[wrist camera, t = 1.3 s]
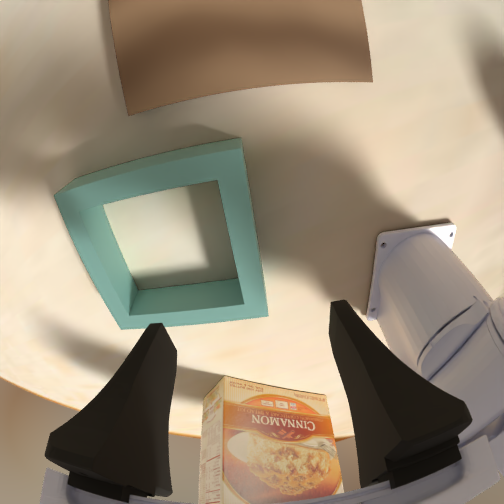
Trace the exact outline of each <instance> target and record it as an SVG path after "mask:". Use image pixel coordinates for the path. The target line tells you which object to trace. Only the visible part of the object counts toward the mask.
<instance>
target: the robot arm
mask: <svg viewBox="0 0 504 504" xmlns="http://www.w3.org/2000/svg"><path fill="white" fill-rule="evenodd" d="M455 232H456V225H455V224H454V223H445V224H437V225H430V226H423V227H416V228H409V229H402V230H395V231H388V232H382V233H380V234H379V235H378V237H377V243H376V252H375V261H374V268H373V276H372V283H371V289H370V296H369V302H368V308H367V313H366V318H367V319H368V320H375V319H377V321H378V323H379V325H380V327H381V329H382V332H383V334H384V336H385V339H386V341H387V343H388V346H389V348H390V350H391V351H390V350H389V349H388V348H387V347H386V346H385V345H384V344H383V343H382V342H381V341H380V340H379V339H378V338H377V337H376V336H375V334H374V333H373V332H372V331H371V330H370V329H369V328H368V327H367V326H366V324H365V323H364V322H363V321H362V320H361V318H360V317H359V316H358V315H357V314H356V312H355V311H354V310H353V308H352V307H351V306H350V305H349V303H348V302H347V301H346V300H340V301H334V302H331V307H330V323H329V337H330V342H331V347H332V351H333V355H334V358H335V361H336V364H337V367H338V370H339V373H340V376H341V379H342V382H343V385H344V389H345V392H346V395H347V398H348V402H349V406H350V411H351V416H352V422H353V428H354V434H355V440H356V448H357V456H358V465H359V476H360V477H359V478H360V485H361V489H357V490H353V491H349V492H344V493H340V494H335V495H330V496H325V497H320V498H314V499H307V500H300V501H292V502H283V503H272V504H360V503H361V504H465V503H466V502H468V501H469V500H471V499H473V498H474V497H476V496H477V495H479V494H481V493H482V492H483V491H485V490H487V489H488V488H489V487H491V486H493V485H494V484H495V483H497V482H498V481H499V480H500V476H499V472H498V470H499V471H500V473H501V474H502V475H503V476H504V298H503V297H498V298H496V299H495V300H494V301H493V299H492V298H491V297H490V295H489V294H488V293H487V292H486V290H485V289H484V288H483V286H482V285H481V284H480V283H479V281H478V280H477V279H476V278H475V277H474V275H473V274H472V273H471V272H470V271H469V269H468V268H467V267H466V266H465V265H464V264H463V263H462V261H461V260H460V259H459V258H458V257H457V256H456V255H455V254H454V252H453V251H452V250H451V249H452V245H453V241H454V236H455ZM450 233H451V234H450ZM449 234H450V235H449ZM382 243H384V245H382V246H381V244H382ZM372 308H373V309H372ZM176 367H177V350H176V348H175V346H174V344H173V342H172V340H171V339H170V337H169V335H168V333H167V331H166V329H165V327H164V325H163V323H150V324H149V325H148V327H147V328H146V330H145V331H144V333H143V334H142V336H141V337H140V339H139V340H138V342H137V343H136V345H135V346H134V348H133V349H132V351H131V352H130V354H129V355H128V356H127V358H126V359H125V361H124V362H123V364H122V365H121V366H120V368H119V369H118V370H117V372H116V373H115V374H114V376H113V377H112V378H111V380H110V381H109V382H108V383H107V384H106V386H105V387H104V388H103V389H102V390H101V391H100V392H99V394H98V395H97V396H96V397H95V398H94V399H93V400H92V401H91V402H89V403H88V404H87V405H86V406H85V407H84V408H83V409H82V410H81V411H80V412H79V413H78V414H76V415H75V416H74V417H73V418H71V419H70V420H69V421H68V422H66V423H65V424H63V425H62V426H60V427H59V428H58V429H56V430H55V431H53V432H51V433H50V436H49V440H48V443H47V447H46V451H45V457H46V458H47V459H48V460H50V461H52V462H53V463H55V464H57V465H58V466H60V467H62V468H64V469H66V470H68V471H70V473H69V476H68V475H66V474H63V473H61V472H58V471H55V470H53V469H50V468H46V472H45V477H44V482H43V487H42V493H41V499H40V504H191V503H181V502H172V501H165V500H157V499H151V498H147V496H151V497H154V496H155V495H156V496H163V497H168V496H169V495H171V494H172V485H171V477H170V467H169V448H168V430H169V414H170V407H171V401H172V395H173V389H174V383H175V376H176Z"/></svg>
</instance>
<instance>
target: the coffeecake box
mask: <svg viewBox="0 0 504 504" xmlns="http://www.w3.org/2000/svg"><path fill="white" fill-rule="evenodd" d="M340 493H344V490H343V484H342V478H341V472H340V466H339V461H338V455H337V449H336V444H335V439H334V434H333V429H332V423H331V418H330V414H329V408H328V404H327V399H326V395H320V394H313V393H306V392H300V391H293V390H288V389H282V388H277V387H272V386H267V385H262V384H257V383H253V382H249V381H244V380H240V379H236V378H232V377H228V376H224V377H223V378H222V379H221V380H220V381H219V382H218V383H217V385H216V386H215V387H214V388H213V389H212V390H211V391H210V392H209V393H208V394H207V395H206V396H205V397H204V401H203V415H202V432H201V451H200V473H199V504H272V503H283V502H292V501H300V500H307V499H314V498H320V497H325V496H330V495H335V494H340Z"/></svg>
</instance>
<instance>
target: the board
mask: <svg viewBox="0 0 504 504" xmlns="http://www.w3.org/2000/svg"><path fill="white" fill-rule="evenodd" d="M108 3H109V12H110V19H111V26H112V33H113V40H114V46H115V52H116V58H117V63H118V68H119V74H120V79H121V84H122V88H123V93H124V98H125V102H126V107H127V111H128V115H129V116H130V115H134V114H137V113H140V112H143V111H147V110H150V109H154V108H157V107H161V106H165V105H169V104H173V103H177V102H181V101H185V100H189V99H194V98H199V97H203V96H208V95H214V94H219V93H225V92H230V91H237V90H243V89H250V88H258V87H266V86H275V85H286V84H298V83H316V82H373V78H372V68H371V59H370V51H369V43H368V36H367V30H366V24H365V18H364V12H363V7H362V2H361V0H108Z"/></svg>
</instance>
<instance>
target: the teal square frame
mask: <svg viewBox="0 0 504 504" xmlns="http://www.w3.org/2000/svg"><path fill="white" fill-rule="evenodd" d="M214 180H218V185H219V190H220V194H221V199H222V204H223V209H224V213H225V218H226V223H227V227H228V232H229V237H230V241H231V246H232V250H233V255H234V259H235V264H236V268H237V273H238V277H239V278H236V279H229V280H221V281H213V282H205V283H197V284H189V285H181V286H173V287H164V288H156V289H147V290H138V288H137V286H136V284H135V282H134V280H133V278H132V276H131V273H130V271H129V269H128V267H127V265H126V262H125V260H124V258H123V256H122V253H121V251H120V249H119V246H118V244H117V241H116V239H115V237H114V234H113V232H112V229H111V227H110V224H109V222H108V219H107V216H106V214H105V211H104V208H103V206H102V205H103V204H107V203H111V202H115V201H119V200H123V199H127V198H131V197H136V196H140V195H144V194H149V193H153V192H158V191H163V190H167V189H172V188H177V187H182V186H187V185H192V184H198V183H203V182H209V181H214ZM54 197H55V200H56V202H57V205H58V208H59V210H60V212H61V215H62V217H63V220H64V222H65V224H66V227H67V229H68V231H69V234H70V236H71V238H72V240H73V242H74V245H75V247H76V249H77V251H78V253H79V255H80V257H81V259H82V261H83V263H84V265H85V267H86V269H87V271H88V273H89V275H90V277H91V279H92V281H93V282H94V284H95V286H96V288H97V290H98V292H99V293H100V295H101V297H102V299H103V300H104V302H105V304H106V306H107V307H108V309H109V311H110V312H111V314H112V316H113V317H114V319H115V321H116V322H117V324H118V325H119V327H120V329H121V330H122V329H142V328H147V327H148V325H149V324H150V323H163V325H164V327H172V326H184V325H195V324H206V323H216V322H225V321H234V320H243V319H251V318H259V317H267V316H268V307H267V298H266V289H265V283H264V276H263V270H262V263H261V257H260V251H259V245H258V238H257V232H256V226H255V219H254V213H253V207H252V201H251V195H250V189H249V182H248V176H247V170H246V164H245V158H244V152H243V146H242V140H241V138H236V139H230V140H224V141H218V142H213V143H207V144H202V145H197V146H192V147H187V148H183V149H178V150H174V151H169V152H165V153H161V154H157V155H153V156H149V157H145V158H141V159H137V160H134V161H130V162H127V163H123V164H120V165H116V166H113V167H109V168H106V169H103V170H100V171H97V172H93V173H90V174H87V175H84V176H81V177H78V178H76V179H74V180H73V181H71V182H70V183H69V184H68V185H66V186H65V187H64V188H62V189H61V190H60V191H59V192H57V193H56V194H55V195H54Z"/></svg>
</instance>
